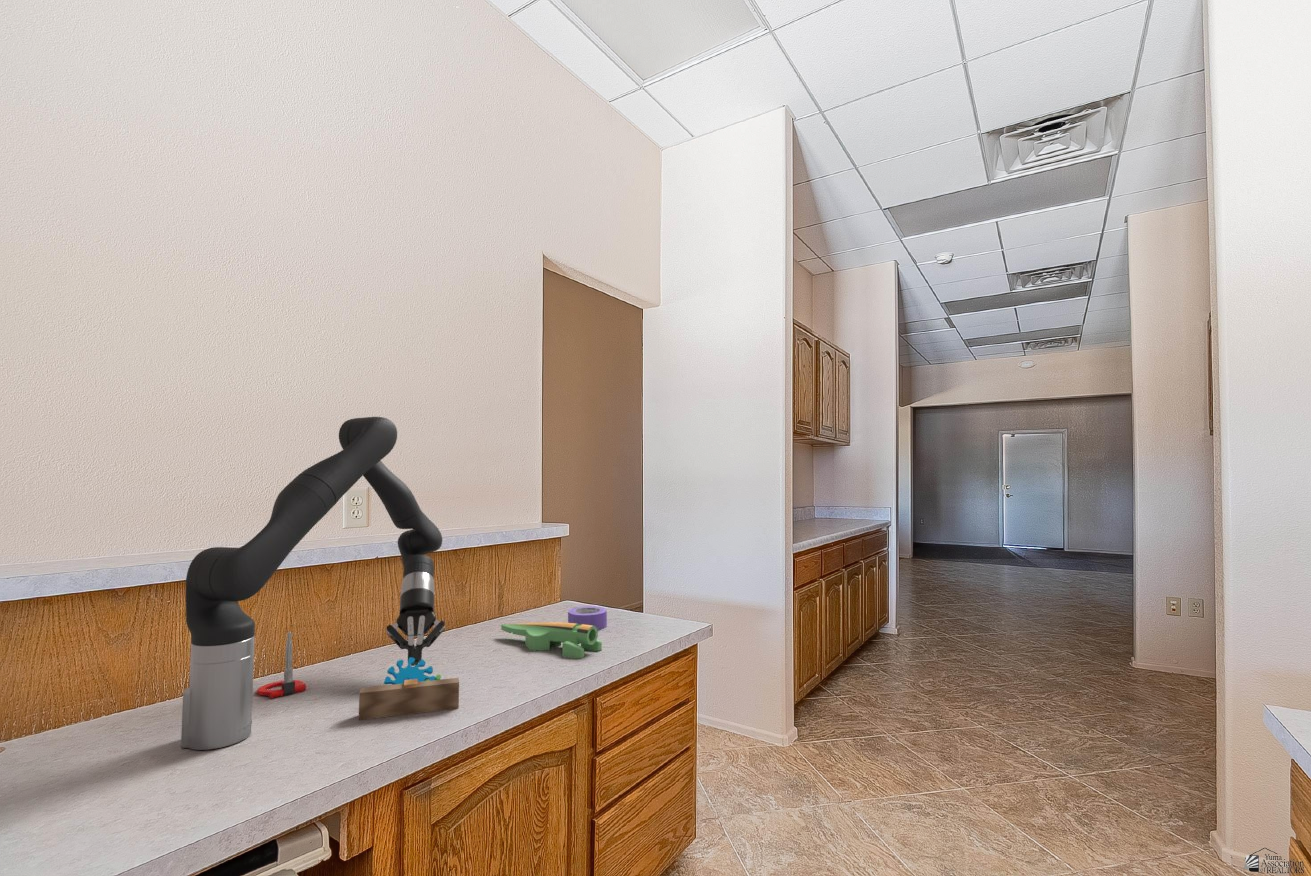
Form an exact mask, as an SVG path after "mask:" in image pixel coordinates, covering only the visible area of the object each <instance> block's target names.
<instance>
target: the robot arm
mask: <svg viewBox="0 0 1311 876" xmlns="http://www.w3.org/2000/svg"><path fill="white" fill-rule="evenodd" d="M338 440H339V441H338V442H339V444H340V446H341V449H342V450H340V451H339V452H336V453H334V454H333V455H330V456H329V457H326V458H324V459H323V460H321V461H318V462H317V463H314V464H313V465H311V466H309V467H308V468H306V469H304V470H303V471H302V472H301V473H299V474H298V475H297V476H295V477H294V478H293V479H292V480H291V481H290V482H289V483H288V484H287V485H286V486H285V487H283V489H282V490H281V491H280V492H279V493H278V495H277V497H276V499H275V501H274V504H273V507H272V511H271V515H270V517H269V518H270V519H269V520H268V522H267V524H266V525H265V526H264V527H263V528H262V529H261V530H260V531H259V532H258V533H257V534H256V535H255V536H254V537H253V538H252V539H250V540H248V542H246V543H245V544H244V545H242V546H240V547H225V546H223V547H222V546H215V547H209V548H207V549H206V548H205V549H204V550H201V551H200V552H199V553H197V554H196V555H195V556H194V558H193V559H192V560H191V562H190V564H189V566H188V569H187V572H186V576H185V577H186V579H185V621H186V626H187V628H188V630H189V633H190V636H191V637H190V638H191V639H190V662H189V666H190V667H189V668H190V669H189V686H188V687H187V688H184V690H183V692H182V707H181V708H182V712H181V713H182V715H181V734H180V748H181V749H183V748H186V749H187V748H188V749H190V750H197V751H204V750H205V751H206V750H216V749H219V748H220V749H221V748H224V747H229V746H232V745H234V744H237V743H240V742H242V741H243V740H245V739H247V738H248V737H249V736H250V735H251V733H252V723H253V717H252V716H253V693H254V692H253V691H254V689H253V688H254V668H255V667H254V663H255V638H256V637H255V635H256V624H255V620H254V619H253V618H252V617H250V616H249V615H248V614H247V613H245V612H244V610H243V609H242V607H241V606H240V604H239V602H240V601H241V602H242V601H245V600H248V599H251V598H252V597H253V596H255V595H256V594H258V593H259V591H261V590H262V588H264V586H265V585H266V584H267V583H268V581H269V580H270V579H271V577H273V575H274V573H275V572H276V571H277V570H278V569H279V567H280V566H281V565H282V563H283V562H284V560H286V559H287V558H288V556H289V554H290V553H291V552H292V550H293V549H295V547H297V545H298V544H299V543H300V541H302V540H303V539H304V538H305V536H306V535H307V534H308V533H309V532H310V531H311V529H313V528H314V527H315V525H317V524H318V523H319V521H321V520H322V519H323V518H324V517H325V515H327V514H328V513H329V512H330V510H331V509H333V508H334V507H335V506H336V504H337V503H338V502H339V501H340V500H341V498H342V497H343V496H344V495H345V494H346V493H347V492H348V491H349V490H350V489H351V488H353V486H354V485H355V484H356V483H357V482H358V481H359V480H360V479H361V478H362V477H364V479H365V480H366V482H367V483H369V485H370V486H371V489H373V490H374V492H375V493H376V494H377V496H378V499H380V501H381V503H382V504H383V506H384V508H385V510H386V512H387V514H388V515H389V518H390V519H391V521H392V523H393V525H394V526H395V527H396V528H397V529H400V530H406V531H404V532H401V534H400V535H399V536H398V539H397V547H398V551H399V553H400V557H401V561H402V566H403V568H402V569H403V572H402V573H403V574H402V583H401V587H400V599H399V600H400V601H399V614H398V617H397V618H396V622H395V623H393V624H388V625H387V626H386V635H387V636H388V637H389V638H390V639H391V640H392V641H393V642H394V643H395V644H396V645H397V646H398V648H399V649H400V650H407V660H408V659H409V657H412V658H415V661H414V663H413V664H411V665H410V666H411V667H414V666H416V665H417V664H418V663H419V662H420V660H422V659H423V658H422V657H423V649H424V648H429V647H431V646H432V644H434V642H435V641H436V640H437V639H438V638H439V637H440V636H441V634H442V633H443V632H444V631H445V627H446V625H445V624H446V622H445V621H444V620H438V619H437V616H436V615H435V596H436V594H435V581H434V579H435V577H434V573H435V572H434V571H435V562H434V561H433V558H431V557H430V556H429V555H427V554H430V553H435V552H436V551H438V550H440V548H441V547H442V546H443V545H442V544H443V535H442V533H441V531H440V529H439V528H438V527H437V525H436V524H435V523H434V522H433V521H432V520H430V519H429V517H428V516H427V515H426V514H425V513H424V512H423V511H422V509H421V507H420V505H419V504H418V502H417V499H416V498H415V496H414V493H413V492H412V490H411V489H410V487H409V486H407V484H406V483H405V482H404V481H402V480H401V478H400V477H398V476H397V475H395V474H394V473H393V472H392V471H391V470H390V469H389V468H388V467H387V466H386V465H385V464H384V463H383V461H382V460H383V459H384V458H386V456H388V455H389V454H390V453H391V451H392V450H393V449H394V447H395V445H396V443H397V441H398V428H397V426H396V425H395V423H394V421H392V420H391V419H388V418H387V417H383V416H382V417H381V416H367V417H356V418H350V419H347V420H345V421H344V422H343V423H342V424H341V426H340V428H339V430H338ZM432 628H433V629H432ZM431 629H432V630H431ZM399 630H400V631H401V632H402V634H404V635H405V636H406V637H407V640H406V639H405V637H404V636H402V634H401V633H400V632H399ZM430 630H431V631H430ZM428 632H430V633H428ZM427 633H428V635H427V636H426V637H425V635H426V634H427ZM416 636H417V637H416ZM415 637H416V643H415Z"/></svg>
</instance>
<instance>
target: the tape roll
mask: <svg viewBox="0 0 1311 876" xmlns="http://www.w3.org/2000/svg"><path fill="white" fill-rule="evenodd" d="M607 610H608V609H607V608H605V607H602V606H594V605H593V606H592V605H589V606H586V605H585V606H576V607H573V608H570V609H569V610H568V612H567V623H576V624H580V625H582V624H585V625H592V626H596V628H597V630H598V631H600V630H603V629H605V628H607V626H608V619H607V618H608V614H607V613H608V612H607Z"/></svg>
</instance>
